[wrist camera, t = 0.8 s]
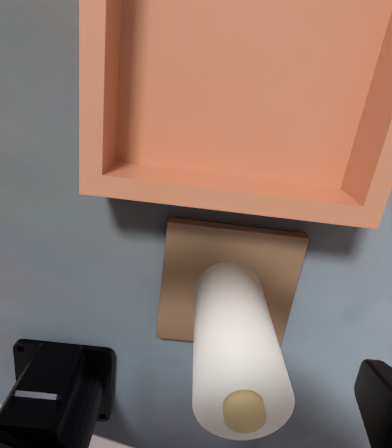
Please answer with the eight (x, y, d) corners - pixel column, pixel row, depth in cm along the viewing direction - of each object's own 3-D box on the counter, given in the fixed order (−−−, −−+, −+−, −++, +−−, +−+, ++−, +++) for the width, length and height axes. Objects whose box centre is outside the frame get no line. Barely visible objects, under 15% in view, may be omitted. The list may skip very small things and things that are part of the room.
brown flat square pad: (276, 341, 24) (279, 350, 23) (157, 329, 23) (155, 337, 23) (305, 233, 21) (309, 238, 20) (168, 216, 20) (167, 222, 20)
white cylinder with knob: (254, 322, 22) (285, 458, 14) (190, 315, 22) (186, 449, 14) (267, 265, 21) (310, 383, 13) (198, 258, 20) (199, 372, 12)
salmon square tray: (348, 204, 20) (377, 229, 17) (99, 174, 19) (79, 193, 16) (445, -113, 15) (514, -167, 11) (106, -167, 14) (78, -240, 11)
